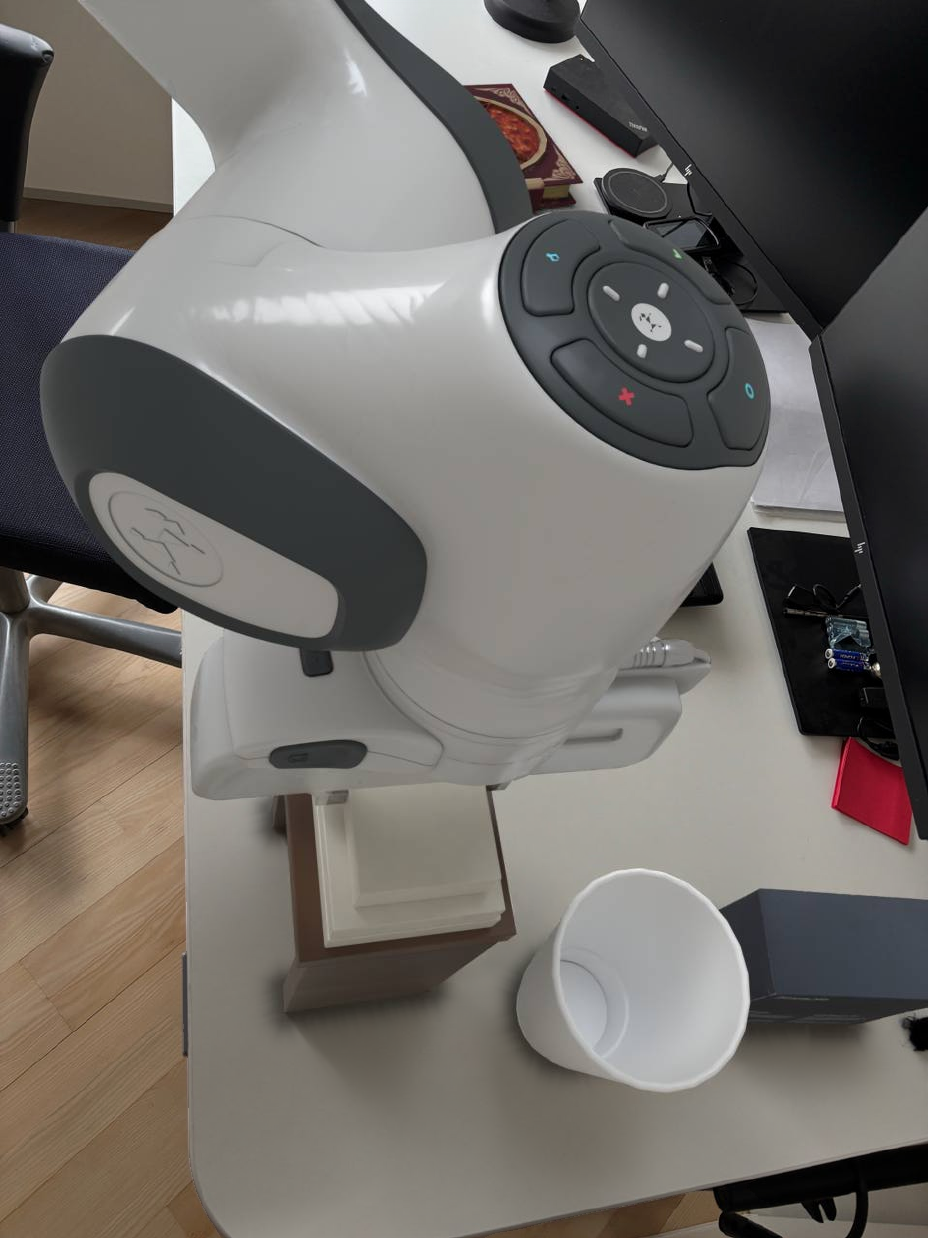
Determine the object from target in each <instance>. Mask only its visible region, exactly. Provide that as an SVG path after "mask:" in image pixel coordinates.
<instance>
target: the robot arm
mask: <svg viewBox="0 0 928 1238" xmlns="http://www.w3.org/2000/svg"><path fill="white" fill-rule="evenodd" d="M76 1H77V2H78V3H79V5H81V6H82V7H83V8H84V9H85V11H87V13H89V14H90V16H92V17H93V18H94V19H95V21H96V22H97V23H98V24H100V25H101V27H102V28H103V29H104V30H105V31H106V32H107V33H108V34H109V35H110V36H111V37H112V38H113V39H114V41H116V42H117V43H118V44H119V45H120V46H121V47H122V48H123V49H124V50H125V51H126V52H127V54H129V55H130V57H132V59H134V60H135V62H137V63H138V65H139V66H140V67H141V68H142V69H143V70H144V71H145V72H146V73H148V75H149V76H150V77H151V78H152V79H153V80H154V81H155V82H156V83H157V84H158V85H159V87H161V89H163V90H164V91H165V92H166V93H167V94H168V95H169V97H170V98H172V99H173V101H175V103H177V105H179V107H181V108H182V110H183V111H184V112H185V113H186V114H187V115H188V116H189V117H190V119H191V120H192V121H194V123H195V124H196V126H197V127H198V128H199V130H200V132H201V133H202V135H203V137H204V139H205V141H206V143H207V145H208V149H209V151H210V153H211V157H212V161H213V164H214V171H213V172H212V174H211V175H210V176H209V177H208V178H207V179H206V180H205V181H204V182H203V184H202V185H201V186H200V187H199V188H198V190H196V192H195V193H194V194H193V195H192V196H191V197H190V198H189V199H188V200H187V202H186V203H185V204H184V205H183V206H182V207H181V208H180V210H179V211H177V213H176V214H175V215H174V216H173V217H172V219H171V220H170V221H169V222H168V223H167V224H166V225H165V226H164V227H163V228H162V229H160V230H159V231H158V232H156V233H154V234H153V235H152V236H150V237H149V238H148V239H147V240H146V241H145V243H144V244H142V246H141V247H140V248H139V249H138V250H137V251H136V252H135V254H133V256H132V257H131V258H130V259H129V260H128V261H127V262H126V263H125V265H124V266H122V268H120V269H119V271H118V272H117V273H116V274H115V276H114V277H112V279H111V280H110V281H109V282H108V284H106V285H105V287H104V288H103V289H102V290H101V291H100V293H99V294H97V296H96V297H95V298H94V299H93V301H92V302H90V304H89V306H87V308H86V309H85V310H84V311H83V313H82V314H81V315H80V316H79V317H78V319H77V320H76V321H75V322H74V324H73V325H72V326H71V327H70V328H69V330H68V331H67V332H66V334H65V335H64V336H63V338H62V339H61V341H60V342H59V344H57V345H56V346H55V347H53V348H52V349H51V351H50V352H49V353H48V355H47V356H46V357H45V359H44V361H43V364H42V367H41V371H40V378H39V402H40V413H41V420H42V424H43V425H42V426H43V430H44V434H45V437H46V440H47V441H46V442H47V444H48V447H49V451H50V453H51V456H52V458H53V461H54V463H55V466H56V469H57V471H58V473H59V475H60V477H61V479H62V481H63V484H64V485H65V487H66V489H67V491H68V493H69V495H70V497H71V499H72V501H73V503H74V504H75V506H76V508H77V510H78V512H79V513H80V515H81V516H82V518H83V519H84V522H85V523H86V524H87V527H88V528H89V529H90V531H91V533H92V534H93V536H94V537H95V539H96V540H97V542H98V543H99V544H100V546H101V547H102V548H103V550H105V551H106V553H107V554H108V555H109V557H111V559H113V561H114V562H115V563H116V564H117V565H118V566H119V567H120V568H121V569H122V570H123V571H124V572H125V573H126V574H127V575H128V576H129V577H131V578H132V579H133V580H134V581H136V582H137V583H138V584H139V585H141V586H142V587H144V588H145V589H146V590H148V591H149V592H150V593H152V594H154V595H155V596H157V597H158V598H161V599H162V600H164V601H165V602H168V603H169V604H171V605H173V606H175V607H176V608H179V609H181V610H183V611H184V612H187V613H188V614H191V615H193V616H195V617H197V618H199V619H201V620H203V621H206V622H207V623H210V624H212V625H214V626H216V627H219V628H222V629H223V634H222V636H221V637H220V638H219V639H217V640H216V641H214V643H212V644H211V645H210V646H209V648H208V649H207V650H206V652H205V653H204V655H203V656H202V658H201V660H200V663H199V666H198V669H197V672H196V675H195V678H194V683H193V687H192V692H191V699H190V707H189V709H190V710H189V759H190V760H189V763H190V780H191V781H190V782H191V783H190V784H191V785H190V786H191V791H192V793H193V794H194V795H195V796H196V797H199V798H203V799H207V800H211V801H229V800H239V799H250V798H264V797H273V796H277V795H289V794H302V793H308V794H311V795H313V796H314V801H315V805H316V806H320V805H332V804H342V803H346V799H347V797H348V795H349V790H352V789H364V788H377V787H389V786H402V785H414V784H427V783H439V782H446V783H452V784H457V785H466V786H486V791H492V792H496V791H498V792H499V791H505V790H506V789H507V788H508V786H509V785H510V784H511V783H512V782H513V781H517V780H520V779H522V778H525V777H528V776H537V775H547V774H548V775H549V774H562V773H573V772H575V773H576V772H583V771H584V772H586V771H587V772H588V771H599V770H600V771H601V770H612V769H613V770H614V769H615V770H616V769H622V768H627V767H630V766H633V765H636V764H638V763H641V762H643V761H646V760H648V759H649V758H650V757H651V756H653V755H654V753H656V751H657V750H658V749H659V748H660V747H661V746H662V745H663V743H664V742H665V741H666V740H667V738H668V737H669V736H670V734H671V733H672V732H673V730H674V729H675V727H676V726H677V725H678V722H679V721H680V719H681V716H682V713H683V703H682V700H681V696H682V695H685V694H686V693H688V692H690V691H692V690H693V689H695V687H696V686H697V685H698V684H699V683H701V682H702V681H703V680H704V679H705V678H706V677H707V676H708V675H709V673H710V672H711V670H712V658H711V655H710V654H709V652H708V651H706V650H704V649H701V648H699V647H694V645H693V643H692V642H691V641H690V640H687V639H683V638H672V637H671V638H660V637H658V636H656V635H657V634H658V633H659V632H660V631H661V630H662V628H663V627H664V626H665V625H666V623H667V622H668V621H669V620H670V618H671V617H673V614H675V613H676V612H677V610H678V609H679V608H680V606H681V605H682V604H683V602H684V601H685V600H686V598H687V597H688V596H689V595H690V593H691V592H692V591H693V589H694V588H695V587H696V585H697V584H698V582H699V581H700V580H701V578H702V577H703V575H704V574H705V572H706V571H707V570H708V568H709V567H710V566H711V565H712V563H713V561H714V560H715V558H716V557H717V555H718V554H719V553H720V551H721V549H722V548H723V546H724V545H725V543H726V542H727V540H728V539H729V538H730V535H731V534H732V532H733V530H734V529H735V527H736V525H738V522H739V520H740V518H741V517H742V515H743V513H744V512H745V509H746V507H747V505H748V504H749V501H750V500H751V497H752V496H753V493H754V492H755V490H756V487H757V484H758V482H759V480H760V477H761V476H762V475H761V474H762V473H763V472H762V471H763V469H764V465H765V461H766V458H767V454H768V450H769V443H770V434H771V422H772V421H771V419H772V418H771V417H772V416H771V414H772V399H771V398H772V397H771V390H770V383H769V378H768V374H767V373H768V372H767V368H766V365H765V360H764V358H763V355H762V352H761V349H760V347H759V344H758V343H757V340H756V337H755V335H754V333H753V331H752V329H751V328H750V326H749V323H748V322H747V320H746V319H745V317H744V315H743V314H742V312H741V311H740V309H739V308H738V306H737V305H736V304H735V302H734V301H733V299H732V297H730V296H729V294H728V293H727V292H726V291H725V290H724V288H723V287H722V286H721V285H720V284H719V282H717V280H716V279H715V278H714V277H713V276H712V275H711V274H710V273H709V272H708V271H707V270H705V268H704V267H702V266H701V265H700V264H699V263H698V262H697V261H696V260H695V259H693V258H692V257H691V256H690V255H689V254H688V253H686V252H685V251H683V250H682V249H681V248H680V247H678V246H676V245H675V244H673V243H672V242H670V241H669V240H667V238H664V237H663V236H661V235H659V234H658V233H656V232H654V231H652V230H650V229H648V228H646V227H644V226H642V225H640V224H637V223H635V222H632V221H630V220H628V219H625V218H622V217H619V216H616V215H612V214H608V213H604V212H598V211H592V210H582V209H563V210H557V211H552V212H546V213H543V214H539V215H536V216H534V213H533V212H534V211H532V206H531V201H530V195H529V192H528V188H527V184H526V181H525V178H524V175H523V172H522V170H521V167H520V164H519V162H518V160H517V158H516V156H515V154H514V152H513V149H512V148H511V146H510V144H509V142H508V140H507V139H506V137H505V135H504V134H503V132H502V131H501V129H500V128H499V126H498V125H497V123H496V122H495V121H494V119H493V118H492V117H491V115H490V114H489V113H488V112H487V110H486V109H485V108H484V107H483V106H482V105H481V103H480V102H479V101H478V100H477V99H476V98H475V97H474V96H473V95H472V94H471V93H470V92H469V91H468V90H467V89H466V88H465V87H464V86H463V85H464V84H462V83H461V82H460V81H459V80H458V79H456V77H455V76H453V75H452V74H451V73H449V71H447V70H446V69H445V68H444V67H443V66H441V64H439V63H438V62H436V61H435V60H434V59H433V58H432V57H430V56H429V55H428V54H427V53H426V52H424V51H423V50H421V49H420V48H419V47H418V46H417V45H415V44H414V43H413V42H412V41H410V39H408V38H406V36H404V35H403V34H402V33H401V32H400V31H398V30H397V29H396V28H395V27H394V26H393V25H392V24H391V23H389V22H388V21H387V20H386V19H385V18H384V17H383V16H382V15H381V14H379V13H378V11H377V10H376V9H374V8H373V7H372V6H371V5H370V4H369V3H368V2H367V1H366V0H76Z"/></svg>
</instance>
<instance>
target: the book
mask: <svg viewBox="0 0 928 1238" xmlns="http://www.w3.org/2000/svg"><path fill="white" fill-rule="evenodd" d="M462 85H463V86H464V87H465V88H466V89H467V90H468V91H469V92H470V93H471V94H472V95H473V96H474V97H475V98H476V99H477V100H478V101H479V102H480V103H481V105H482V106H483V107H484V108H485V109H486V110H487V112H488V113H489V114H490V115H491V117H492V118H493V119H494V121H495V122H496V123H497V125H498V126H499V128H500V129H501V131H502V132H503V134H504V135H505V137H506V139H507V140H508V142H509V144H510V146H511V148H512V149H513V152H514V154H515V156H516V158H517V160H518V162H519V164H520V167H521V170H522V172H523V175H524V178H525V181H526V184H527V188H528V192H529V195H530V201H531V206H532V212H538V210H539V209H540V208H551V207H560V206H571V205H576V203H577V200H576V199H575V198H574V196H573V195H572V193H571V191H570V187H571V185H579V184H580V185H582V184H584V180H583V179H582V178H581V176H580V175H579V174H578V172H577V171H576V169H575V168H574V167H573V166H572V164H571V162H570V161H569V160H568V159H567V157H566V156H565V154H564V153H563V152H562V150H561V149H560V147H559V146H558V145H557V144H556V142H555V140H554V139H553V138H552V137H551V135H550V134H549V132H548V131H547V130H546V129H545V127H544V125H543V124H542V123H541V122H540V120H539V119H538V117H537V116H536V114H535V113H534V112H533V111H532V109H531V108H530V106H529V105H528V104H527V102H526V101H525V99H523V97H522V96H521V94H520V93H519V91H518V90H517V89H516V87H515V86H514V84H513V83H511V82H509V83H487V84H482V83H481V84H462Z"/></svg>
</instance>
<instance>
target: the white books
mask: <svg viewBox="0 0 928 1238" xmlns="http://www.w3.org/2000/svg"><path fill="white" fill-rule="evenodd" d="M312 804H313V816H314V828H315V840H316V852H317V863H318V875H319V887H320V899H321V911H322V923H323V935H324V946H325V948H330V947H338V946H346V945H354V944H362V943H370V942H377V941H385V940H393V939H401V938H409V937H417V936H425V935H432V934H440V933H448V932H456V931H464V930H472V929H480V928H488V927H492V926H493V925H495V924H496V923H497V922H498V921H500V920H501V916H500V914H501V913H503V912H504V911H505V904H504V898H503V892H502V886H501V881H499V882H498V883H497V884H496V885H495V886H494V887H493V888H491V889H490V890H489V891H488V892H486V893H478V894H469V895H461V896H452V897H443V898H435V899H426V900H418V901H409V902H400V903H392V904H383V905H375V906H366V907H357V908H354V907H353V906H352V896H351V886H350V876H349V866H348V856H347V846H346V836H345V826H344V816H343V806H342V804H332V805H320V806H316V805H315V801H314V796H313V795H312Z"/></svg>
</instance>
